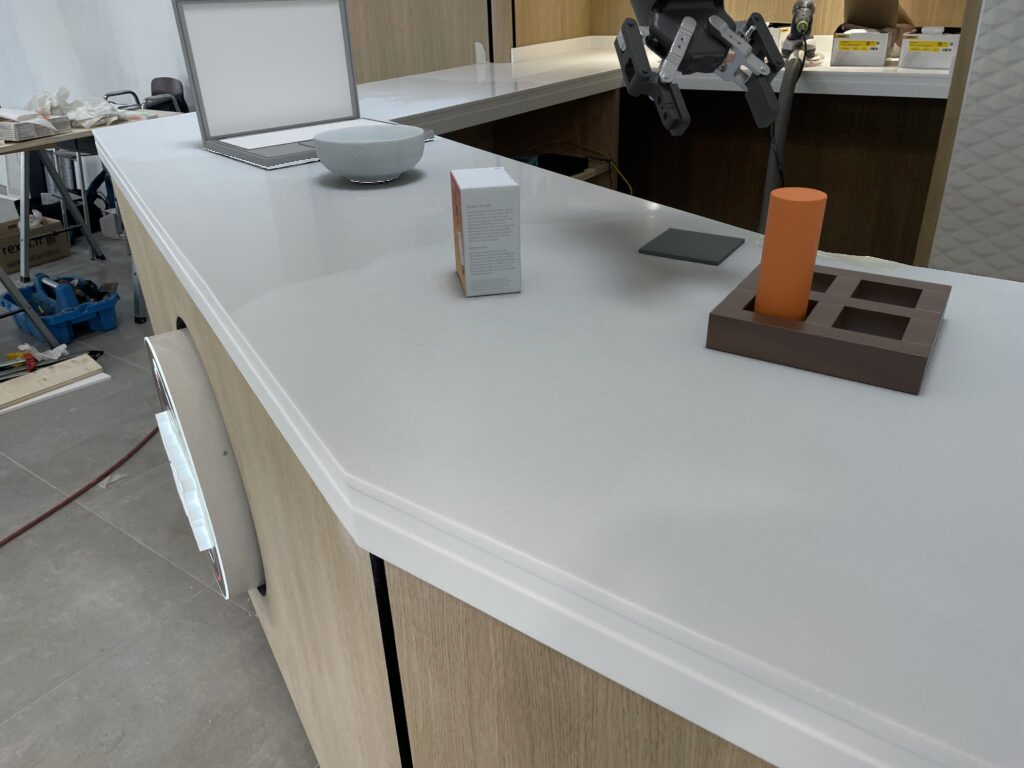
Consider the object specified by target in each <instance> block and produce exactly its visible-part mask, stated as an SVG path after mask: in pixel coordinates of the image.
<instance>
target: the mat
mask: <svg viewBox="0 0 1024 768" xmlns="http://www.w3.org/2000/svg"><path fill="white" fill-rule="evenodd" d="M745 242H746V238H743V237H736V236H729V235H723V234H722V235H721V234H714V233H709V232H701V231H695V230H688V229H681V228H674V227H669V228H668V229H666V230H665V231H664V232H662V233H660V234H659V235H657V236H656V237H654V238H653V239H651V240H650V241H648V242H647V243H645V244H644V245H642V246H641V247H639V248H638V253H640V254H647V255H653V256H658V257H663V258H664V257H665V258H670V259H677V260H683V261H688V262H694V263H701V264H707V265H712V266H719V265H720V264H721V263H722V262H723V261H724V260H726V259H727V258H728V257H729V256H730V255H731V254H733V253H734V252H735V251H736V250H737V249H738V248H740V247H741V245H743V244H744V243H745Z"/></svg>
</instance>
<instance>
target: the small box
mask: <svg viewBox="0 0 1024 768" xmlns="http://www.w3.org/2000/svg"><path fill="white" fill-rule="evenodd" d="M449 176H450V177H449V178H450V193H451V207H452V209H451V210H452V225H453V242H454V243H453V244H454V258H455V259H454V261H455V270H456V272H457V275H458V277H459V279H460V283H461V286H462V288H463V291H464V294H465V297H467V298H468V297H478V296H479V297H480V296H487V295H498V294H510V293H519V292H521V291H522V267H521V266H522V263H521V262H522V261H521V209H520V208H521V200H520V199H521V198H520V197H521V196H520V193H521V191H520V188H521V187H520V185H519V184H518V182H516V180H515V179H513V177H512V176H511V175H510V174H509V172H508V171H507V169H506V167H505V166H494V167H493V166H492V167H476V168H459V169H450V171H449Z"/></svg>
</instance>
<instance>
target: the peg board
mask: <svg viewBox="0 0 1024 768" xmlns="http://www.w3.org/2000/svg"><path fill="white" fill-rule="evenodd" d="M760 264H761V262H760V263H758V265H757V266H756V267H755V268H754V269H753V270H752V271H751V272H750V273H748V274H747V276H745V278H743V280H742V281H741V282H739V283H738V284H737V285H736V287H735V288H733V290H731V291H730V292H729V293H728V294H727V295H726V296H725V298H724V299H723V300H721V301H720V302H719V303H718V305H716V306H715V307H714V308H713V309H712V310H711V311H710V312H709V313H708V321H707V331H706V338H705V339H706V341H705V348H708V349H713V350H717V351H722V352H725V353H731V354H735V355H738V356H743V357H748V358H752V359H757V360H761V361H766V362H770V363H775V364H779V365H783V366H788V367H793V368H797V369H802V370H806V371H810V372H815V373H820V374H823V375H829V376H832V377H837V378H842V379H846V380H851V381H854V382H859V383H862V384H863V383H864V384H868V385H873V386H878V387H883V388H887V389H890V390H895V391H900V392H904V393H909V394H913V395H917V396H918V395H919V394H920V390H921V388H922V384H923V381H924V378H925V375H926V372H927V369H928V367H929V363H930V360H931V357H932V353H933V352H934V348H935V345H936V342H937V339H938V336H939V333H940V330H941V327H942V324H943V320H944V318H945V315H946V310H947V307H948V303H949V299H950V296H951V292H952V289H953V285H949V284H944V283H943V284H942V283H937V282H931V281H930V282H929V281H924V280H917V279H911V278H905V277H898V276H891V275H885V274H879V273H873V272H872V273H871V272H866V271H859V270H852V269H848V268H847V269H846V268H840V267H834V266H826V265H821V264H815V267H814V273H813V279H812V284H811V290H810V295H809V301H808V306H807V312H806V317H805V322H802V321H797V320H792V319H787V318H782V317H777V316H771V315H766V314H761V313H756V312H754V306H755V299H756V292H757V285H758V278H759V271H760Z"/></svg>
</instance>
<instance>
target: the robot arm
mask: <svg viewBox="0 0 1024 768" xmlns="http://www.w3.org/2000/svg"><path fill="white" fill-rule="evenodd" d="M629 2H630V4H631V7H632V10H633V12H634V16H635V18H636V20H635V18H632V17H626V18H625V19H624V20H623V22H622V24H621V26H620V29H619V30H618V32H617V35H616V37H615V39H614V41H613V46H614V49H615V52H616V56H617V60H618V63H619V68H620V70H621V72H622V73H621V74H622V77H623V80H624V84H625V87H626V90H627V91H626V92H627V93H628V95H630V96H632V97H635V98H636V97H639V96H640V95H645V96H648V97H649V99H650V100H651V101H653V102H654V104H655V107H656V109H657V113H658V115H659V118H660V119H661V124H662V126H663V127H664V128H665V130H667V131H669V132H670V135H671V136H672V137H679V136H683V134H684V133H685V131H686V130H687V129H688V127H689V126H690V123H691V116H690V113H689V111H688V108H687V105H686V103H685V100H684V97H683V94H682V92H681V90H680V87H679V85H678V83H675V82H674V83H673V81H674V78H675V76H676V73H677V72H679V73H681V75H682V76H688V75H689V76H690V75H693V74H696V73H701V74H713V73H714V74H715V75H716V76H718V77H719V78H720V79H722V80H723V81H724V82H732V83H734V84H735V85H737V86H738V87H739V88H740V89H742V90H743V91H744V92H745V93H744V97H745V100H746V102H747V104H748V107H749V109H750V112H751V114H752V117H753V120H754V121H755V124H756V126H757V128H759V129H763V128H768V127H770V126H771V124H772V123H773V122H774V121H775V119H776V118H777V117H778V115H779V111H780V103H779V101H778V97H777V96H776V92H775V91H774V88H773V86H772V84H771V83H772V82H773V81H774V79H775V77H777V75H778V74H779V73H780V71H782V69H783V68H784V67H785V65H786V62H785V60H784V57H783V55H782V53H781V51H780V49H779V47H778V45H777V43H776V41H775V39H774V37H773V35H772V33H771V30H770V29H769V26H768V24H767V23H766V21H765V19H764V17H763V15H762V14H761V13H760V12H758V11H753V12H752V13H751V14H750V15H749V17H748V18H747V19H745V20H737V21H735V20H734V19H733V18H732V17H731V15H729V14H728V12H727V11H726V9H725V0H629ZM645 46H646V47H647V48H648V49H649V50H650V51H651V52H652V53H653V54H655V55H656V56H657V57H659V59H661V60H660V63H659V65H658V68H657V70H656V71H652V68H651V64H650V60H649V57H648V54H647V51H646V48H645ZM730 50H731V51H732V52H733V53H734V59H733V60H732V62H731V63H726V62H725V60H726V58H727V57H728V55H729V53H730ZM765 59H766V61H767V62H766V61H765ZM741 66H744V67H745V68H747V69H748V70H749V71H750V72H751V73H750V75H749V74H747V73H746V72H745V71H743V70H742V69H741V68H742V67H741Z"/></svg>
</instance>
